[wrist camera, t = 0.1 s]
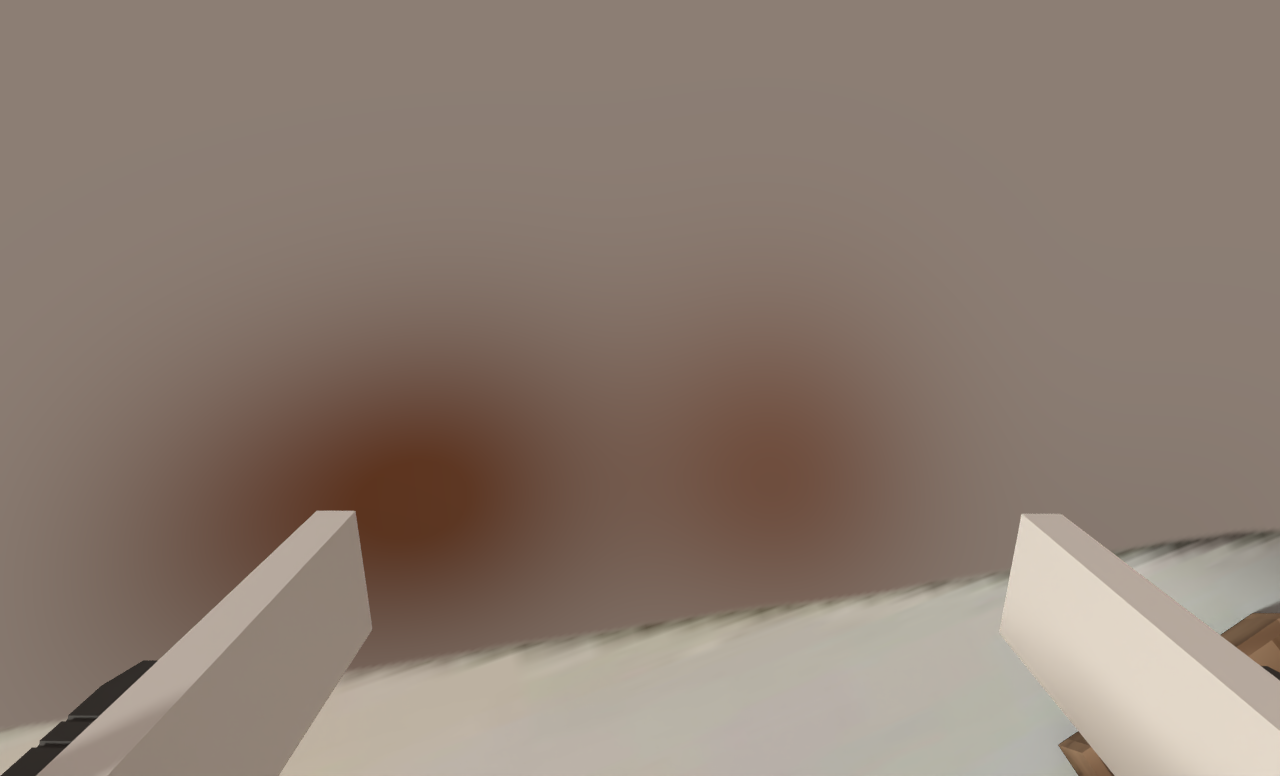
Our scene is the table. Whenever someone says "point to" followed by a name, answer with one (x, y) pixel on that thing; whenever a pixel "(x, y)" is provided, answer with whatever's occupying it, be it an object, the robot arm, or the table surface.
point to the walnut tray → (1256, 636)
